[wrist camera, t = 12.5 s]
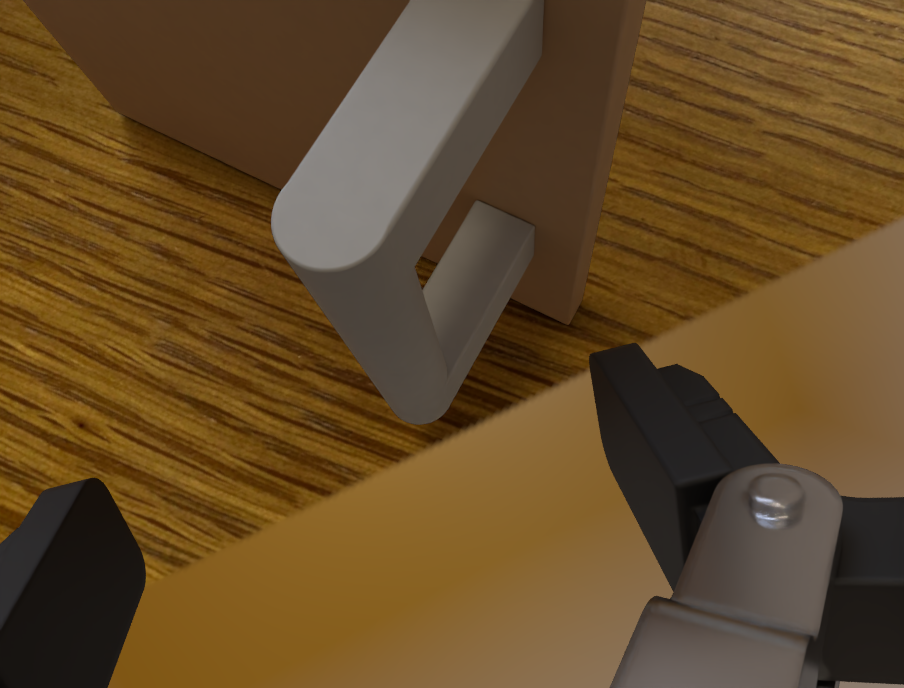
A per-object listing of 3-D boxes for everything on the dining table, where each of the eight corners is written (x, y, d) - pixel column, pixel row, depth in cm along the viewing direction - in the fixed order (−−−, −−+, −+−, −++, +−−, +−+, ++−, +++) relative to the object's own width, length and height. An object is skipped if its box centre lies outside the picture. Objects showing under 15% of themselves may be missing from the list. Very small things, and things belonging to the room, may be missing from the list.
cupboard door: (485, 483, 21) (407, 246, 7) (23, 233, 25) (-660, -258, 11) (583, 298, 23) (696, -227, 8) (132, 90, 26) (-334, -513, 12)
